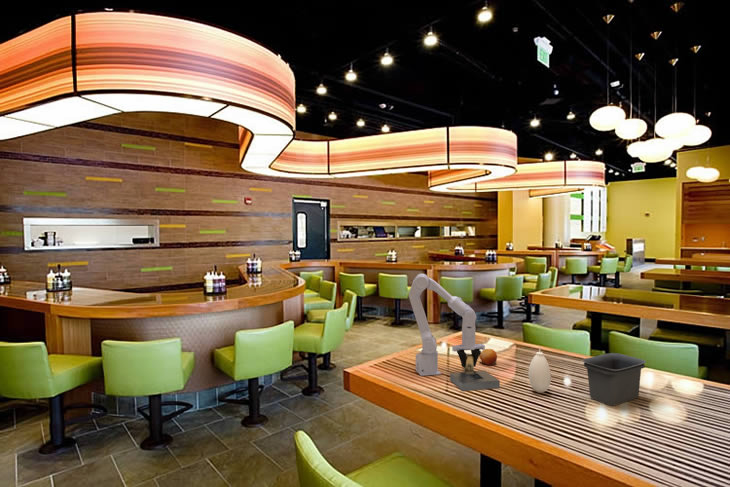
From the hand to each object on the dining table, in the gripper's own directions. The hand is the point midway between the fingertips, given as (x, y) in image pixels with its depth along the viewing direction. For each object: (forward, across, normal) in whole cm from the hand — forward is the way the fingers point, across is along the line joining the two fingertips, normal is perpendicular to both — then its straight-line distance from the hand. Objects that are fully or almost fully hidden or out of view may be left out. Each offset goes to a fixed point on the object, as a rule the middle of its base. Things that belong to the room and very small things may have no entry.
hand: (468, 366), depth 172 cm
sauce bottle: (+4, +18, -24) cm, 30 cm away
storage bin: (+3, +41, -34) cm, 53 cm away
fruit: (+4, +16, +12) cm, 20 cm away
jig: (+3, -3, -11) cm, 12 cm away
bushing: (+2, 0, 0) cm, 2 cm away
